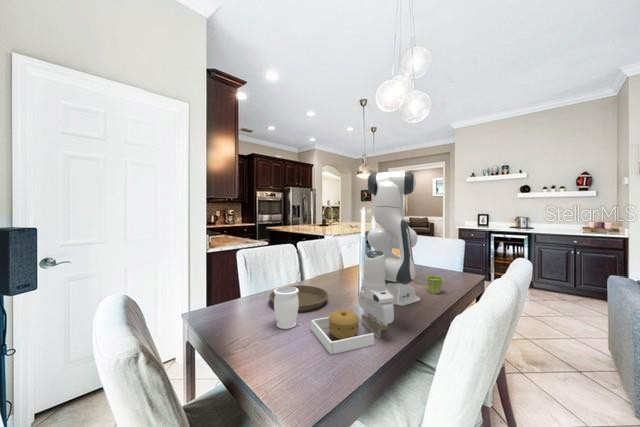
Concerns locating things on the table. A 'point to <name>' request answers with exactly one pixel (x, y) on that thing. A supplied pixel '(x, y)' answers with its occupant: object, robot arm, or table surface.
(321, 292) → the plant saucer
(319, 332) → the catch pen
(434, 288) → the plant pot
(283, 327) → the jar
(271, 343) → the table surface
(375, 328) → the scraper
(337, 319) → the pot
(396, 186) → the robot arm
